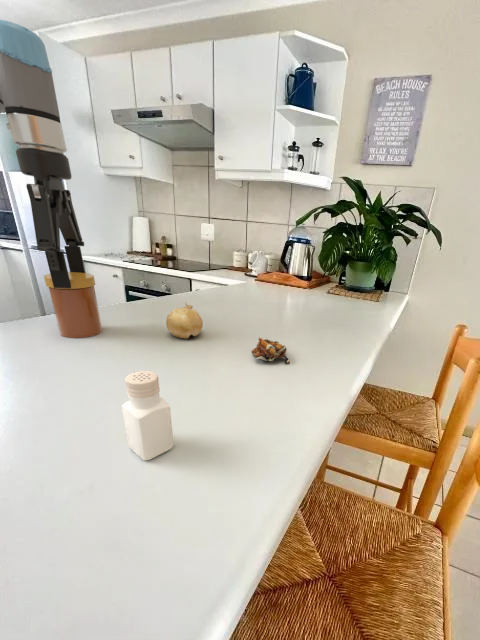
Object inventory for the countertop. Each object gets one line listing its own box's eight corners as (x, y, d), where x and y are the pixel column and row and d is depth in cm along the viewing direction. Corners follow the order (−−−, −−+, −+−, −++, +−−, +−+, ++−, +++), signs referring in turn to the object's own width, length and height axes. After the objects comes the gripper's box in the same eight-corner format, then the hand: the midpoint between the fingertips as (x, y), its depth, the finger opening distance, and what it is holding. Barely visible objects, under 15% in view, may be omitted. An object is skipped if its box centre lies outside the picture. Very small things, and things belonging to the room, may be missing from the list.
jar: (67, 326, 74) (54, 274, 68) (106, 326, 76) (96, 275, 70) (54, 338, 67) (39, 281, 61) (97, 337, 69) (86, 282, 64)
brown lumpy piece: (277, 343, 74) (278, 328, 73) (291, 364, 64) (293, 347, 63) (247, 343, 73) (247, 328, 71) (256, 365, 62) (257, 348, 61)
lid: (55, 280, 69) (53, 271, 68) (99, 281, 71) (98, 273, 71) (38, 288, 62) (35, 278, 61) (89, 289, 64) (87, 280, 63)
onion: (203, 341, 72) (202, 310, 69) (165, 341, 70) (162, 309, 67) (203, 330, 79) (202, 301, 75) (168, 330, 77) (166, 300, 74)
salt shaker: (158, 434, 41) (149, 366, 37) (176, 448, 39) (169, 377, 35) (127, 448, 38) (113, 376, 34) (144, 464, 36) (132, 389, 32)
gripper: (42, 157, 65) (68, 273, 75) (-21, 134, 46) (26, 293, 56) (84, 162, 67) (104, 274, 77) (40, 141, 48) (75, 294, 58)
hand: (71, 282), depth 66 cm, fingers open, 10 cm apart
